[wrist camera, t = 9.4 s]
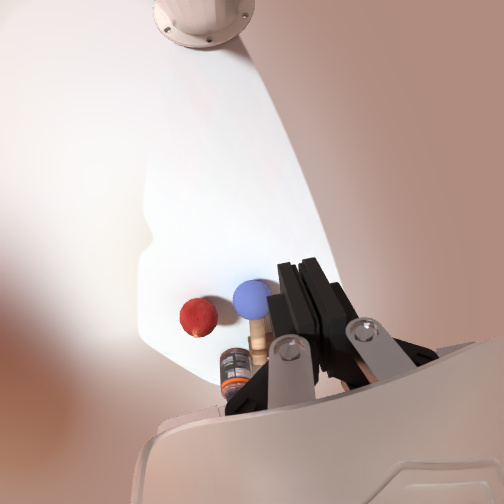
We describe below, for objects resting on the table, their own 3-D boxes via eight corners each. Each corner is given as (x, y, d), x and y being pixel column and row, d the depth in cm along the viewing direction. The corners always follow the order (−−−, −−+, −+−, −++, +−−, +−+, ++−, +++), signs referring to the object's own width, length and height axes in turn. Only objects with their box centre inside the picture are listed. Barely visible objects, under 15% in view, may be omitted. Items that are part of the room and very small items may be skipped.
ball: (237, 330, 42) (236, 301, 47) (276, 325, 42) (272, 296, 47) (229, 304, 39) (229, 275, 44) (273, 298, 39) (268, 269, 43)
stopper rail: (247, 336, 51) (249, 353, 47) (296, 327, 51) (301, 343, 47) (249, 344, 52) (251, 360, 48) (297, 335, 52) (302, 350, 48)
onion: (224, 297, 46) (225, 331, 39) (207, 320, 48) (206, 355, 41) (191, 282, 44) (186, 316, 37) (176, 307, 46) (170, 341, 39)
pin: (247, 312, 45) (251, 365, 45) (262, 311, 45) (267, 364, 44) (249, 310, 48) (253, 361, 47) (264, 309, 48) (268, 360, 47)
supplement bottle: (237, 370, 55) (241, 416, 45) (213, 359, 53) (213, 407, 43) (257, 354, 53) (264, 402, 43) (232, 342, 51) (235, 392, 41)
